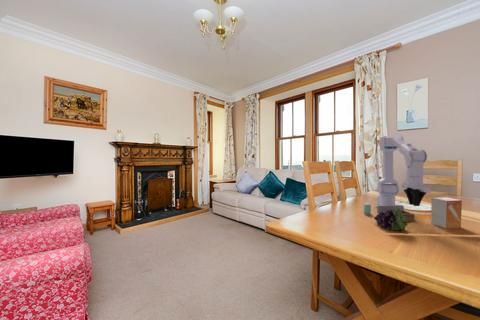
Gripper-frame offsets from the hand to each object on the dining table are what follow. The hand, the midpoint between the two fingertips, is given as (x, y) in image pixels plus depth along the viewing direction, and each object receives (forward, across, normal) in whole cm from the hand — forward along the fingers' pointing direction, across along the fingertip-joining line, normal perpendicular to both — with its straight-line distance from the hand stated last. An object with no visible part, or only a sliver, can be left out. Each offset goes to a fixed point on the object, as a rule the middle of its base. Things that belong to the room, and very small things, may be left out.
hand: (414, 205), depth 94 cm
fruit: (+10, +7, -14) cm, 18 cm away
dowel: (+9, -15, -13) cm, 22 cm away
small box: (+10, +2, +12) cm, 15 cm away
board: (+9, -8, 0) cm, 13 cm away
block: (+9, -8, 0) cm, 12 cm away
